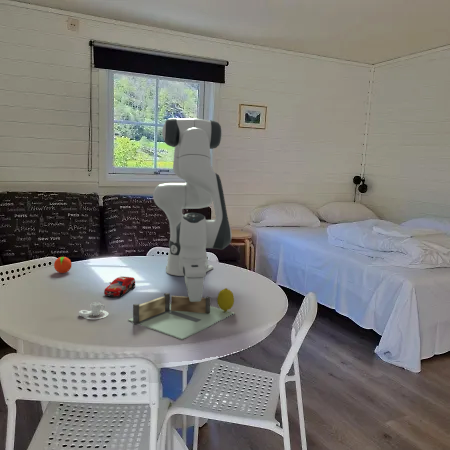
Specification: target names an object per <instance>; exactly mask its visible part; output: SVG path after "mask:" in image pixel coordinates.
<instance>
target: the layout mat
mask: <svg viewBox="0 0 450 450" xmlns="http://www.w3.org/2000/svg"><path fill="white" fill-rule="evenodd" d="M232 314H233V315H235V312H233V311H229V310H227V311H226V312H225V311H224V310H222V309H221V308H219V307H216V306H211V305H210V313H209V314H207V313H197V312H183V311H171V302H170V311H168V312H162V313H160V314H157V315H155V316H152V317H150V318H147V319H145V320H142V321H140V322H139V323H138V324H137V325H139V326H142V327H145V328H148V329H151V330H154V331H156V332H159V333H161V334H164V335H168V336H170V337H173V338H176V339H178V340H182V341H184V340H185V339H187V338H189V337H191V336H194V335H195V334H197V333H200V332H201V331H203V330H205V329H207V328H209V327H211V326H213V325H215V324H217V323H219V322H221V321H223V320H225V319H227V318H229V317H231V316H233V315H232ZM230 315H231V316H230ZM228 316H229V317H228ZM226 317H227V318H226ZM224 318H225V319H224ZM222 319H223V320H222ZM220 320H221V321H220ZM127 321H129V322H131V323H133V317H131V318H128V319H127ZM218 321H219V322H218ZM216 322H217V323H216ZM214 323H215V324H214Z"/></svg>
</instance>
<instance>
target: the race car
mask: <svg viewBox="0 0 450 450" xmlns="http://www.w3.org/2000/svg"><path fill="white" fill-rule="evenodd" d="M135 287H136V279H135V278H134V277H132V276H119V277H116V278H114V279H113V280H112V282H111V281H110V282H109V285H108V286H107V287H106V288H104V295H105V296H107V297H122V296H123V295H125V294H126V293H127V292H129V291H131V290H133V289H134V288H135Z"/></svg>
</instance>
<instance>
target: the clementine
mask: <svg viewBox="0 0 450 450" xmlns="http://www.w3.org/2000/svg"><path fill="white" fill-rule="evenodd" d="M72 264H73V263H72V261H71V259H70V258H69V257H66V256H60V257H58V258H56V259H55V261H54V265H53V266H54V267H53V268H54V269H55V271H56V272H57V273H59V274H66V273H68V272H69V271H70V270H71V268H72Z"/></svg>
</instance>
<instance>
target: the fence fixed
mask: <svg viewBox="0 0 450 450" xmlns="http://www.w3.org/2000/svg"><path fill="white" fill-rule="evenodd" d="M170 303H171V295H170V292H169V293H168V292H166V293H164V294H163V296H160V297H157V298H154V299H151V300H149V301H146V302H143V303H140V304H139V303H134V304H133V305H132V318H133V322H132V324H133V325H139V324H138V323H139V322H140V321H142V320H145V319H147V318H150V317H152V316H155V315H157V314H160V313H162V312H168V311H170Z"/></svg>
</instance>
